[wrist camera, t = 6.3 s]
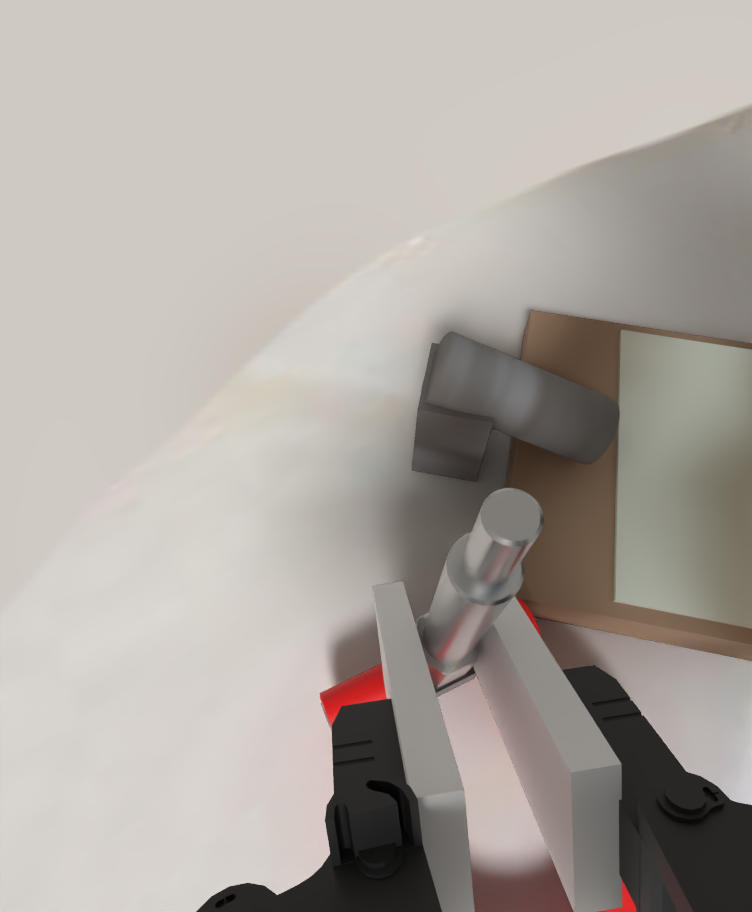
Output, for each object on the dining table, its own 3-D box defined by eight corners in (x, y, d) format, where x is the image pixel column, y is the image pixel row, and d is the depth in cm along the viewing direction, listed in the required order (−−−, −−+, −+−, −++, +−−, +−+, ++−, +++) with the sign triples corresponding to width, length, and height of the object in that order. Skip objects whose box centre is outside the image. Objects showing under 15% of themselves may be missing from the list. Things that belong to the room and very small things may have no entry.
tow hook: (720, 908, 16) (535, 590, 20) (1538, 1230, 5) (747, 346, 9) (434, 1089, 15) (291, 707, 19) (638, 2203, 3) (153, 600, 7)
